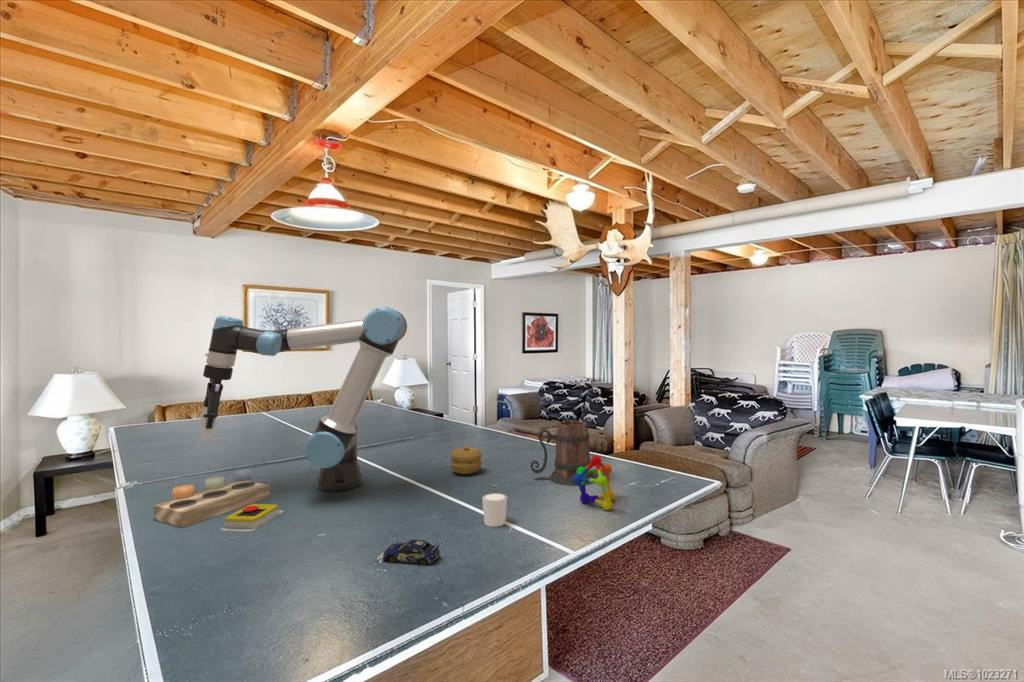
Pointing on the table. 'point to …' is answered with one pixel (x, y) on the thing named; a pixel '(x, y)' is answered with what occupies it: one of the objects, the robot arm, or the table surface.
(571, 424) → the tankard
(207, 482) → the sage button
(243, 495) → the button panel
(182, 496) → the terracotta button
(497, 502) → the cream cylinder
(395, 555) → the race car
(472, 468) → the pot
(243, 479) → the slate button
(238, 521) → the emergency button
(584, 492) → the educational toy
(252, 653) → the table surface
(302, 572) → the table surface
